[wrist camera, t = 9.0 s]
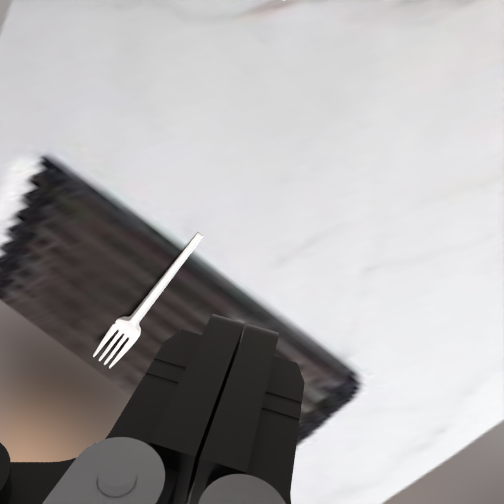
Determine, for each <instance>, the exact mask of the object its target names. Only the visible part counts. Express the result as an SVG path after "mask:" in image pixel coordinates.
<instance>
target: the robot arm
mask: <svg viewBox="0 0 504 504" xmlns="http://www.w3.org/2000/svg"><path fill="white" fill-rule="evenodd" d="M244 325H245V323H243V322H239V321H236V320H232V319H229V318H225V317H222V316H218V315H215V314H212V316H211V318H210V320H209V322H208V324H207V326H206V328H205V330H204V332H203V334H202V335H199V334H196V333H193V332H189V331H186V330H181V331H180V332H178V333H177V334H175V335H174V336H172V337H171V338H169V339H167V340H166V341H165V342H164V343H163V345H162V347H161V348H160V350H159V352H158V353H157V355H156V357H155V359H154V362H152V363H151V365H150V367H149V368H148V370H147V372H146V375H145V376H144V377H143V378H142V380H141V382H140V383H139V385H138V387H137V388H136V390H135V392H134V393H133V395H132V397H131V398H130V400H129V402H128V404H127V405H126V407H125V409H124V410H123V412H122V413H121V415H120V417H119V419H118V420H117V422H116V423H115V425H114V427H113V428H112V430H111V432H110V433H109V435H108V436H107V437H106V439H105V440H101V441H99V442H97V443H94V444H93V445H91V446H90V447H88V448H86V449H85V450H84V451H83V452H82V453H81V454H80V455H79V456H78V457H77V458H74V459H71V460H66V461H61V462H45V463H44V462H10V457H9V454H8V452H7V450H6V448H5V447H4V446H3V445H2V444H1V443H0V504H291V499H290V490H291V481H292V474H293V466H294V458H295V451H296V443H297V435H298V428H299V419H300V413H301V403H302V397H303V390H304V380H303V378H302V375H301V372H300V370H299V367H298V364H297V363H295V362H292V361H288V360H285V359H282V358H278V357H275V356H274V353H275V349H276V345H277V341H278V336H279V333H278V332H274V331H271V330H267V329H264V328H260V327H257V326H253V325H250V324H247V326H246V328H245V331H244V334H243V330H244ZM242 334H243V337H242ZM241 338H242V340H241ZM240 342H241V343H240Z"/></svg>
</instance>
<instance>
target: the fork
mask: <svg viewBox="0 0 504 504" xmlns="http://www.w3.org/2000/svg"><path fill="white" fill-rule="evenodd" d="M202 238H203V235H202V234H200V233H199V232H198V233H197V234H196V236H195V237H194V238H193V239H192V241H191V242H190V243H189V244H188V246H187V247H186V248H185V249H184V251H183V252H182V253H181V254H180V256H179V257H178V258H177V259H176V261H175V262H174V263H173V264H172V265H171V267H170V268H169V269H168V270H167V272H166V273H165V274H164V275H163V277H162V278H161V279H160V280H159V281H158V283H157V284H156V285H155V286H154V288H153V289H152V290H151V291H150V293H149V294H148V295H147V296H146V298H145V299H144V300H143V301H142V303H141V304H140V305H139V306H138V308H137V309H136V310H135V311H134V313H133V314H132V315H131V316H129V317H121V318H119V319H117V320H116V324H113V325H112V326H111V328H110V329H109V331H108V332H107V333H106V335H105V337H104V338H103V340H102V342H101V343H100V345H99V346H98V348H97V350H96V351H95V353H94V355H93V357H95V356H96V355H97V353H98V352H99V351H100V350H101V348H102V347H103V346H104V345H105V343H106V342H107V341H108V340H109V339H110V337H111V336H112V335H113V334H114V333H115V332H116V330H119V332H118V333H117V335H116V336H115V337H114V339H113V340H112V342H111V343H110V345H109V346H108V347H107V349H106V350H105V352H104V353H103V354H102V356H101V357H100V359H99V361H101V360H102V359H103V357H104V356H105V355H106V354H107V352H108V351H109V350H110V349H111V347H112V346H113V345H114V343H115V342H116V341H117V339H118V338H119V337H120V336H121V334H122V333H123V334H124V336H123V338H122V339H121V340H120V342H119V343H118V344H117V346H116V347H115V349H114V350H113V351H112V353H111V354H110V356H109V357H108V358H107V360H106V361H105V363H104V365H105V364H107V363H108V361H109V360H110V359H111V358H112V356H113V355H114V354H115V353H116V351H117V350H118V349H119V348H120V346H121V345H122V344H123V342H124V341H125V340H126V338H127V337H129V340H128V341H127V343H126V344H125V346H124V347H123V348H122V350H121V351H120V353H119V354H118V355H117V357H116V358H115V359H114V361H113V362H112V363H111V365H110V366H109V368H111V367H112V366H113V365H114V364H115V363H116V362H117V361H118V360H119V359H120V358H121V357H122V356H123V355H124V354H125V353H126V352H127V351H128V350H129V349H130V347H131V346H132V345H133V344H134V343H135V341H136V340H137V339H138V337H139V336H140V333H141V328H140V326H139V322H140V321H141V319H142V318H143V317H144V315H145V314H146V313H147V311H148V310H149V309H150V307H151V306H152V305H153V303H154V302H155V301H156V299H157V298H158V297H159V295H160V294H161V293H162V291H163V290H164V289H165V287H166V286H167V285H168V283H169V282H170V281H171V279H172V278H173V276H174V275H175V274H176V272H177V271H178V270H179V268H180V267H181V266H182V264H183V263H184V262H185V260H186V259H187V258H188V256H189V255H190V254H191V252H192V251H193V250H194V248H195V247H196V246H197V244H198V243H199V242H200V240H201V239H202Z"/></svg>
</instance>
